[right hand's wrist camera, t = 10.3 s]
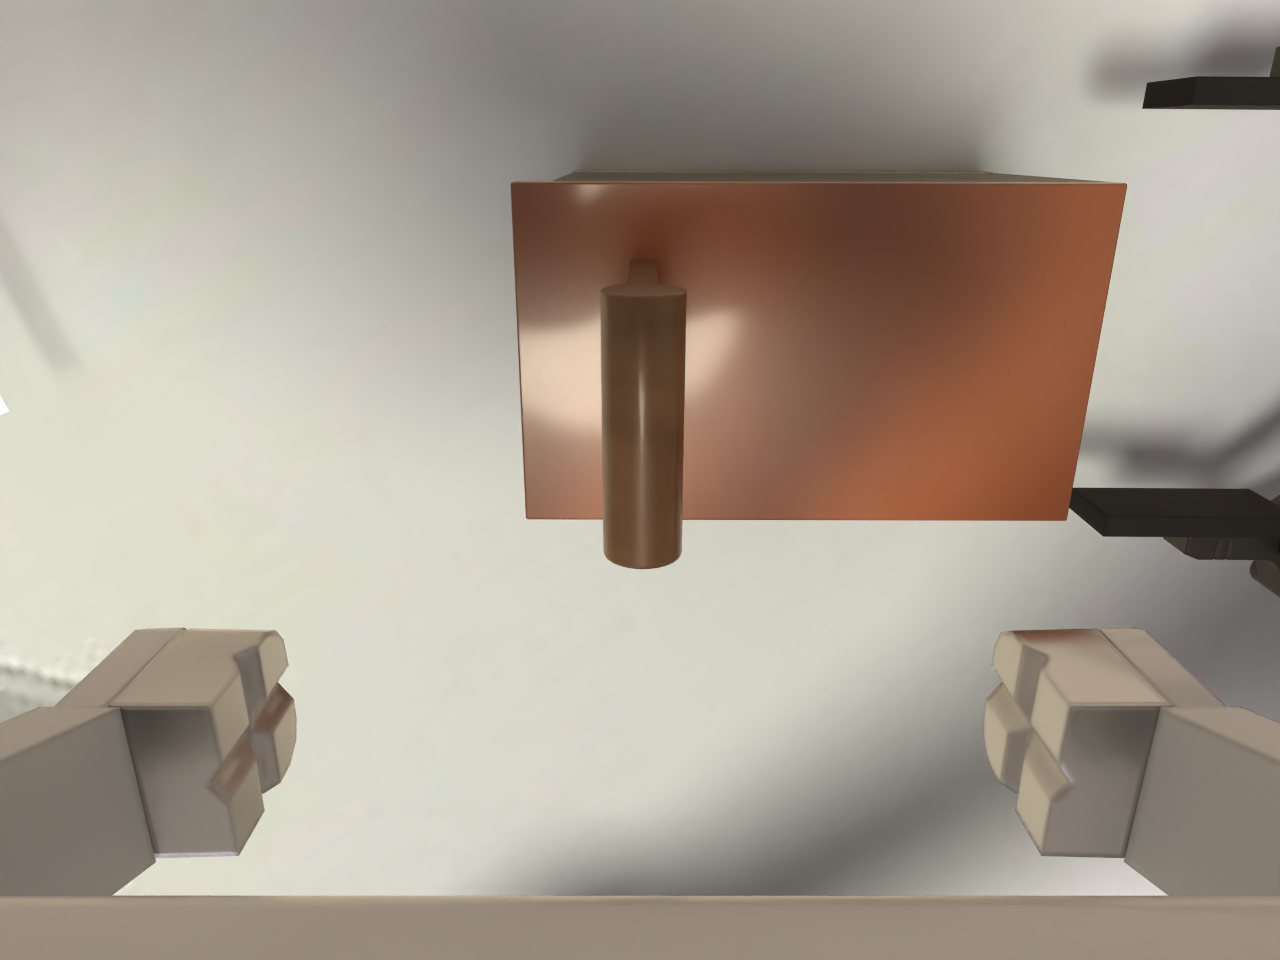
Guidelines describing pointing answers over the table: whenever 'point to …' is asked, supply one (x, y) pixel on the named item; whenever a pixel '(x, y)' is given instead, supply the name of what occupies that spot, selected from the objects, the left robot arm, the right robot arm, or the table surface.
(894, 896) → the right robot arm
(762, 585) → the table surface
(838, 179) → the chest
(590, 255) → the lid
